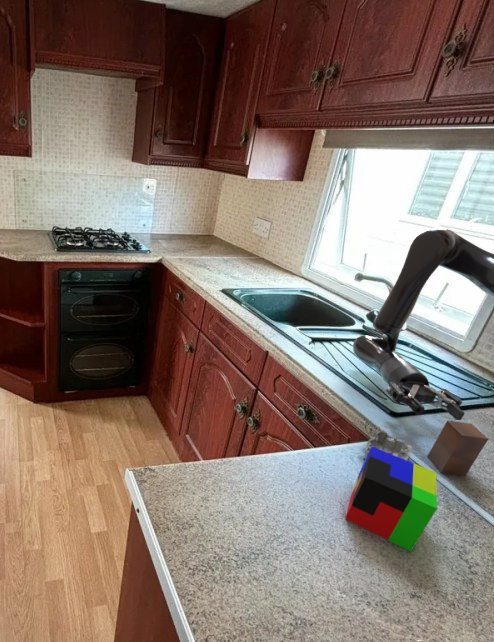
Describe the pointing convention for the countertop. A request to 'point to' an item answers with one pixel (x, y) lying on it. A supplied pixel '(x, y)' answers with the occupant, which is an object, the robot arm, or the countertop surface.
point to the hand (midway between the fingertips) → (441, 414)
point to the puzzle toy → (393, 498)
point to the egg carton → (388, 445)
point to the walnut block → (457, 448)
